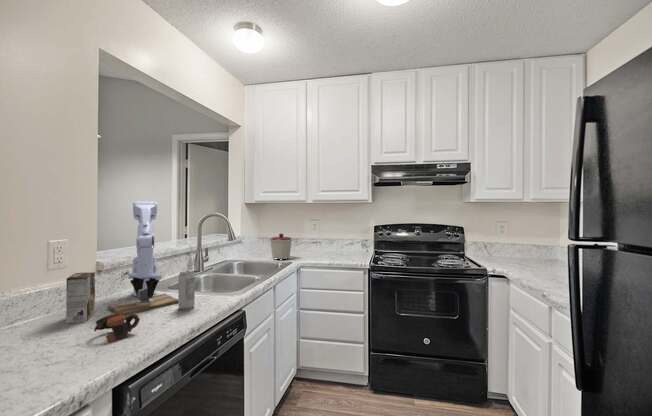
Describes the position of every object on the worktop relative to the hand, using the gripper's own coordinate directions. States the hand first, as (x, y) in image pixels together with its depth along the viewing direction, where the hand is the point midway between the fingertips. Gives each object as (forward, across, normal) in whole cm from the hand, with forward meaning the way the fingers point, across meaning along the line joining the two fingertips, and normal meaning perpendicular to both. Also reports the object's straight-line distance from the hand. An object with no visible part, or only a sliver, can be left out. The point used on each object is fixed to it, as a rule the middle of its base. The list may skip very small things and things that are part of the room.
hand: (144, 296), depth 127 cm
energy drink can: (+4, +19, +1) cm, 19 cm away
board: (+4, 0, 0) cm, 4 cm away
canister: (+4, +18, +124) cm, 125 cm away
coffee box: (+4, -11, -18) cm, 21 cm away
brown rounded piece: (+4, +14, -28) cm, 32 cm away
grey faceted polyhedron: (+1, 0, 0) cm, 1 cm away
